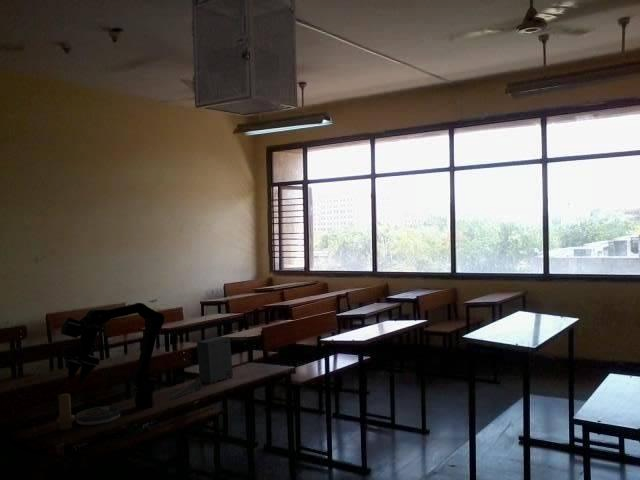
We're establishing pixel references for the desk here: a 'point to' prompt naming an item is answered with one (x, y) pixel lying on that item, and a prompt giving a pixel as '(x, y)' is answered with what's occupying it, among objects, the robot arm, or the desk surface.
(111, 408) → the carrier plate
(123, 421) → the desk surface
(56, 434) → the desk surface
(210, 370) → the hard drive box
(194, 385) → the caliper
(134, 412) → the desk surface
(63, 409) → the brown waisted peg
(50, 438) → the desk surface
